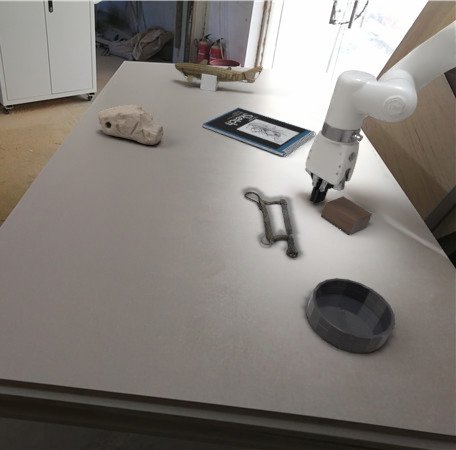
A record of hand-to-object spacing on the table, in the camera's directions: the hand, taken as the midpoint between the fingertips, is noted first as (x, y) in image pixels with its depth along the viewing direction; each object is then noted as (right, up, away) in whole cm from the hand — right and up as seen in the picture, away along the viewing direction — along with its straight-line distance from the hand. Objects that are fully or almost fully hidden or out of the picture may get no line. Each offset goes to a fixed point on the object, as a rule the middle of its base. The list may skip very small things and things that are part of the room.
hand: (316, 201), depth 99 cm
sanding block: (+4, -5, -5) cm, 8 cm away
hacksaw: (-14, -5, -6) cm, 16 cm away
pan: (-6, -23, -29) cm, 37 cm away
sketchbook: (-6, +25, +33) cm, 42 cm away
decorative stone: (-47, +21, +26) cm, 58 cm away
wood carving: (-16, +49, +65) cm, 83 cm away
